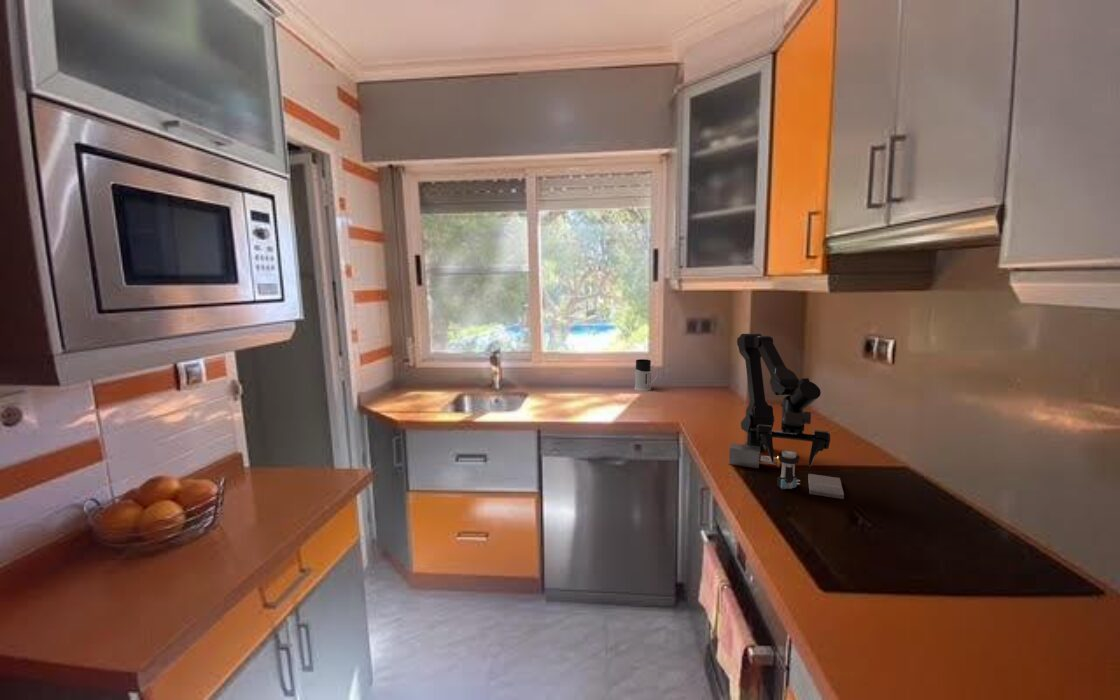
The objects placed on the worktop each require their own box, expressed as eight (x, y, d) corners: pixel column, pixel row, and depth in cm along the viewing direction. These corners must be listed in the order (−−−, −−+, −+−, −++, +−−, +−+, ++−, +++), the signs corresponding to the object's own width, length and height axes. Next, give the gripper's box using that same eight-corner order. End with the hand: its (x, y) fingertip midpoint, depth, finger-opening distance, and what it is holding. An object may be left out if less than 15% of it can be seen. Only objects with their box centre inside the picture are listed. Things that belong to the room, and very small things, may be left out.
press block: (730, 458, 161) (731, 443, 160) (759, 462, 158) (760, 446, 157) (729, 464, 157) (729, 448, 156) (758, 468, 153) (759, 451, 153)
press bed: (808, 477, 146) (808, 467, 146) (839, 482, 143) (840, 471, 142) (809, 494, 135) (810, 483, 134) (843, 499, 131) (844, 488, 131)
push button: (792, 481, 143) (795, 447, 142) (806, 489, 138) (808, 454, 137) (772, 484, 142) (774, 450, 140) (785, 491, 137) (787, 456, 135)
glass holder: (642, 386, 267) (642, 358, 265) (663, 390, 256) (663, 361, 254) (630, 388, 262) (631, 360, 260) (652, 393, 251) (652, 363, 249)
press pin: (749, 460, 158) (749, 450, 158) (779, 464, 155) (780, 454, 154) (748, 464, 155) (748, 453, 155) (779, 468, 152) (780, 457, 151)
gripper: (758, 396, 144) (754, 445, 136) (832, 403, 137) (832, 455, 128) (758, 416, 152) (754, 464, 144) (828, 423, 145) (828, 473, 136)
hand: (790, 463), depth 138 cm, fingers open, 9 cm apart
